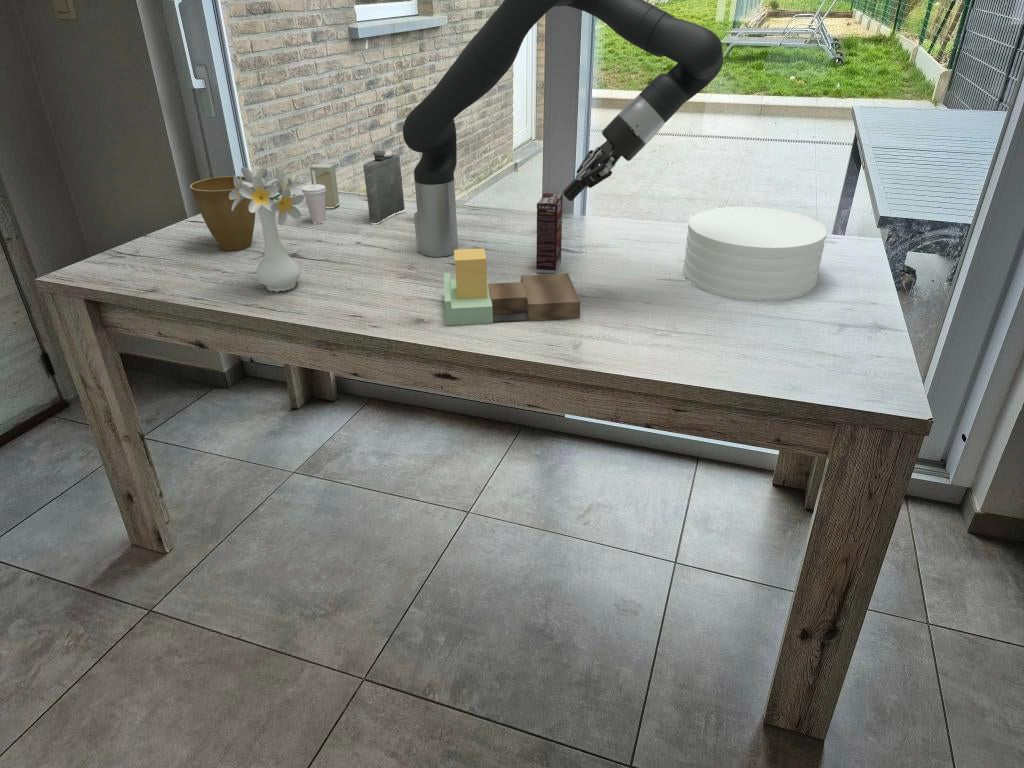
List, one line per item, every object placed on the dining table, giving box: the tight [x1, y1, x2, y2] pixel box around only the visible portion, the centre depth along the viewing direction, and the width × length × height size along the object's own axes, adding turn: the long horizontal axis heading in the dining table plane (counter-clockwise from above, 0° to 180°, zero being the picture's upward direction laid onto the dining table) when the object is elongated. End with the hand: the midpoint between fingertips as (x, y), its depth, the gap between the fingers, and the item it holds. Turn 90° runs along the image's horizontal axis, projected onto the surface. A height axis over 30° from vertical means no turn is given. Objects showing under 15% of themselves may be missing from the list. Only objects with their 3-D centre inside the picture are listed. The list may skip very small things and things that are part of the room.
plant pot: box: [189, 175, 256, 252], centre depth 174 cm, size 15×15×16 cm
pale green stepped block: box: [443, 272, 494, 326], centre depth 141 cm, size 9×15×5 cm, turn 5°
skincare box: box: [309, 163, 340, 207], centre depth 204 cm, size 6×4×12 cm
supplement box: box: [535, 192, 564, 274], centre depth 157 cm, size 9×5×16 cm, turn 168°
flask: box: [362, 150, 405, 223], centre depth 193 cm, size 4×14×18 cm, turn 153°
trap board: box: [488, 272, 581, 324], centre depth 142 cm, size 17×15×4 cm
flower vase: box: [229, 167, 305, 293], centre depth 147 cm, size 13×18×25 cm
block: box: [453, 248, 488, 299], centre depth 138 cm, size 6×6×8 cm
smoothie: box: [301, 171, 327, 224], centre depth 191 cm, size 6×6×14 cm
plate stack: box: [682, 206, 828, 302], centre depth 152 cm, size 28×28×12 cm
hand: (566, 197), depth 135 cm, fingers closed
